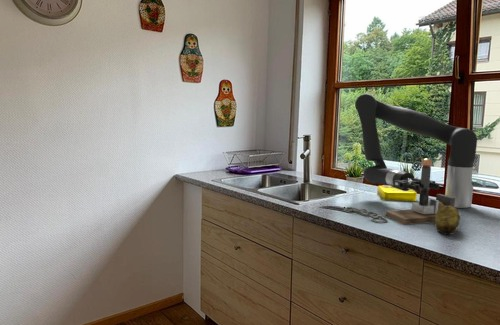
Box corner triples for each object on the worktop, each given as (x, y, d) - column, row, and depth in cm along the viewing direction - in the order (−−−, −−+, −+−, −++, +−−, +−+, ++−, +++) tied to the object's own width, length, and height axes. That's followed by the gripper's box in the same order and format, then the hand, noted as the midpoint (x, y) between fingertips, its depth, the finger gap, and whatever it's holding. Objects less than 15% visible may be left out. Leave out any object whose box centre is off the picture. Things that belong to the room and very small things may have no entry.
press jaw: (423, 209, 140) (428, 157, 137) (437, 213, 133) (442, 159, 130) (410, 209, 138) (414, 157, 136) (423, 214, 132) (428, 159, 129)
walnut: (438, 210, 140) (439, 200, 139) (446, 212, 136) (447, 202, 136) (429, 210, 139) (430, 200, 138) (437, 213, 135) (438, 203, 134)
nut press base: (435, 212, 144) (436, 192, 143) (457, 220, 134) (459, 199, 132) (385, 216, 138) (386, 195, 137) (404, 224, 127) (406, 202, 126)
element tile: (382, 200, 164) (383, 190, 164) (376, 193, 179) (376, 184, 178) (417, 202, 162) (418, 192, 162) (408, 195, 177) (408, 185, 176)
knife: (318, 205, 149) (333, 201, 155) (318, 209, 149) (333, 204, 155) (380, 223, 127) (395, 216, 133) (380, 227, 127) (395, 220, 133)
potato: (425, 232, 120) (427, 208, 119) (439, 224, 129) (441, 202, 128) (453, 238, 114) (455, 213, 113) (465, 229, 123) (467, 206, 122)
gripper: (385, 171, 146) (413, 178, 130) (415, 170, 149) (445, 177, 134) (384, 189, 147) (411, 198, 131) (413, 188, 150) (444, 196, 135)
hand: (428, 187), depth 133 cm, fingers open, 8 cm apart
